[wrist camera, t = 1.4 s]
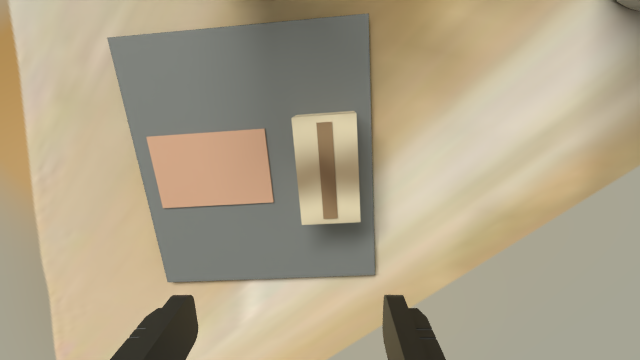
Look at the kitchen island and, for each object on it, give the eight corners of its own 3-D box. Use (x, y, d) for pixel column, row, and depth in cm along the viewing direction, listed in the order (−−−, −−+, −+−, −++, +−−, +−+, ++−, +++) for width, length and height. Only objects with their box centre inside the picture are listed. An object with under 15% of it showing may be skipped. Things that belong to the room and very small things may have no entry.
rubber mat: (112, 39, 26) (105, 37, 25) (367, 15, 24) (368, 12, 23) (170, 278, 32) (166, 283, 31) (374, 271, 31) (375, 275, 30)
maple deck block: (296, 114, 26) (291, 117, 23) (353, 110, 26) (356, 113, 22) (305, 209, 29) (301, 225, 25) (357, 207, 28) (360, 222, 25)
